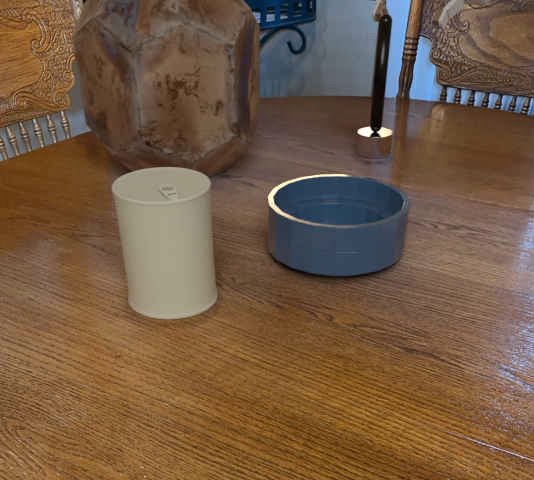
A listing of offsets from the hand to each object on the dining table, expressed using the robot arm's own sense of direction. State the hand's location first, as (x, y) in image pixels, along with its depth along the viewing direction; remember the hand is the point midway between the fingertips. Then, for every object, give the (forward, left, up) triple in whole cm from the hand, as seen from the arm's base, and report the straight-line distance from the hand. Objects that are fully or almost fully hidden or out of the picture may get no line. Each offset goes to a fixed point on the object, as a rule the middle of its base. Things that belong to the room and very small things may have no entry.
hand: (406, 22), depth 99 cm
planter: (+33, +10, -16) cm, 38 cm away
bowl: (+14, +39, -16) cm, 45 cm away
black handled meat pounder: (+4, +5, -16) cm, 17 cm away
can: (+32, +49, -16) cm, 61 cm away
